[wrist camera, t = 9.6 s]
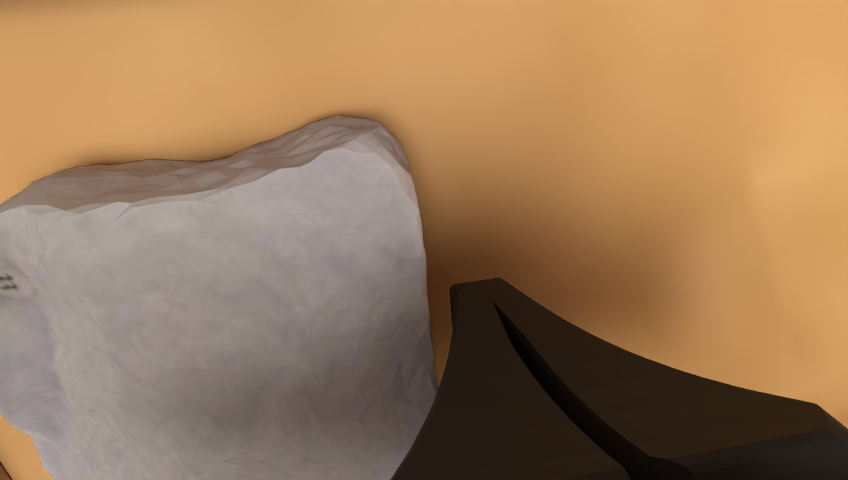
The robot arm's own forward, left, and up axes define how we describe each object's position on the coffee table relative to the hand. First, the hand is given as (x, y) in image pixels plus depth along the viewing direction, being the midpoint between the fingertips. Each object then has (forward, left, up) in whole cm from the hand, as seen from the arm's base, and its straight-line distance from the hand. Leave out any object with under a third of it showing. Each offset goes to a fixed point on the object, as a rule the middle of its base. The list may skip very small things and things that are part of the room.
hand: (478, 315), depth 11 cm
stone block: (-1, +6, -2) cm, 6 cm away
